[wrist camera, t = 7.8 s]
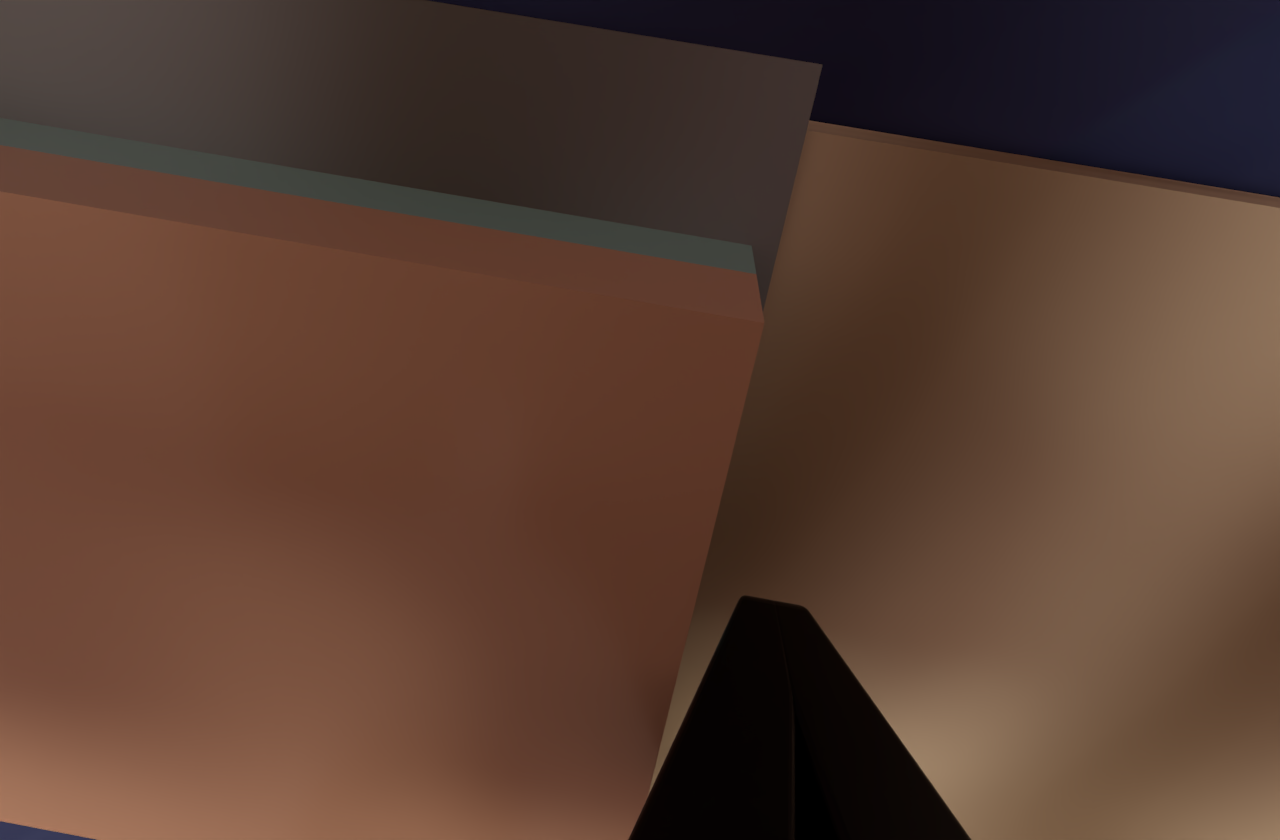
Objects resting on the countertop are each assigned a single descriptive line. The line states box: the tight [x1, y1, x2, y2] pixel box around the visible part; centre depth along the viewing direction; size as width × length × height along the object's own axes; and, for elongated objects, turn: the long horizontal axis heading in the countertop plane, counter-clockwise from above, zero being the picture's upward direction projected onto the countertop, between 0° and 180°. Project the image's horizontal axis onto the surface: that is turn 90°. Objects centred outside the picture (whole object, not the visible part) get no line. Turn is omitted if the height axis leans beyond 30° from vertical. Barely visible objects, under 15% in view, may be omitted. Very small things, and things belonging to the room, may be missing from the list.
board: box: [0, 0, 1280, 840], centre depth 10 cm, size 20×14×1 cm
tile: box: [0, 118, 764, 840], centre depth 7 cm, size 2×8×8 cm
